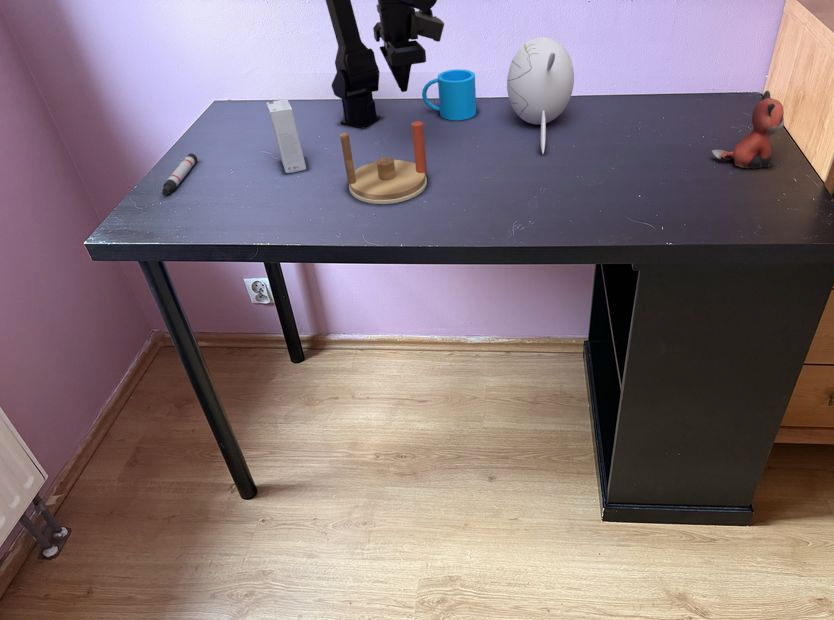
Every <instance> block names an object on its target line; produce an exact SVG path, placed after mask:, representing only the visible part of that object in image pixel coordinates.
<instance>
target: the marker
mask: <svg viewBox="0 0 834 620" xmlns="http://www.w3.org/2000/svg"><path fill="white" fill-rule="evenodd" d="M197 161H198V157H197V155H195V154H194V153H192V152H191V153H188V154H187V156H186V157H185V158H183V160H181V162H180V163H179V165H178V166H177V167H176V168H175V170H174V171H173V172H172V173H171V174H170V176H169V177H168V178H167V179H166V181H165V182H164V184H163V185H162V190H161V191H162V193H161V194H163V195H168V194H170V193H174V191H175V190H176V189H177V188H178V186H179V185H180V183H182V181H183V180H184V178H185V177H186V176H187V175H188V174H189V172H190V171H191V169H192V168H193V167H194V166H195V164H196V163H197Z"/></svg>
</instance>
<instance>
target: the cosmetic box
mask: <svg viewBox="0 0 834 620" xmlns="http://www.w3.org/2000/svg"><path fill="white" fill-rule="evenodd" d="M266 107H267V112H268V115H269V119H270V123H271V126H272V130H273V134H274V137H275V141H276V144H277V149H278V152H279V153H278V154H279V156H280V160H281V163H282V166H283V169H284V172H285V174H293V173H298V172H303V171H306V170H307V165H306V160H305V157H304V153H303V148H302V143H301V140H300V135H299V131H298V127H297V124H296V120H295V115H294V109H293V108H292V106H291V104H290V102H289V100H288V98H283V99H278V100H273V101H268V102H266Z"/></svg>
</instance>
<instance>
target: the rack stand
mask: <svg viewBox="0 0 834 620" xmlns="http://www.w3.org/2000/svg"><path fill="white" fill-rule="evenodd" d="M427 180H428V179H427V176H426V175H425V183H424V185H423V186H422V187H421V188H420V189H419V190H417V191H416V192H414V193H412V194H409V195H407V196H403V197H400V198H395V199H385V200H378V199H369V198H365V197H361V196H359V195H357V194H355V193H354V192H353V191H352V190H351V188H350V184H349V183H348V189H349V193H350V194H351V195H352V197H353V198H355V199H356V200H358V201H361V202H363V203H368V204H373V205H391V204H398V203H403V202H405V201H409V200H411V199H413V198H415V197H417V196H419V195H420V194H421V193H423V192H424V191H425V189H426V187H427V185H428V181H427Z"/></svg>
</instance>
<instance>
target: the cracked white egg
mask: <svg viewBox="0 0 834 620" xmlns="http://www.w3.org/2000/svg"><path fill="white" fill-rule="evenodd" d="M574 70H575V69H574V65H573V62H572V59H571V56H570V54H569V52H568V51H567V49H566V48H565V47H564V45H563V44H561V43H560V42H559V41H557V40H556V39H554V38H551V37H547V36H546V37H545V36H539V37H535V38H532V39H530V40H528V41H527V42H525V43H524V44H523V45H521V46H520V47H519V49H518V50H517V52H516V53H515V54H514V56H513V58H512V60H511V62H510V65H509V68H508V72H507V78H506V91H507V97H508V100H509V103H510V105H511V107H512V110H513V111H514V112H515V114H516V115H517V116H518V117H519V118H520V119H521V120H523V121H524V122H526V123H528V124H532V125H540V149H541V150H540V151H541V153H542V155H544V154H545V149H546V143H547V142H546V139H547V127H546V126H547V124H548V123H550V122H552V121H553V120H555V119H557V118H558V117H559V116H560V115H561V114H562V113H563V112H564V110H565V109H566V107H567V106H568V104H569V102H570V100H571V97H572V94H573V90H574V85H575V71H574Z"/></svg>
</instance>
